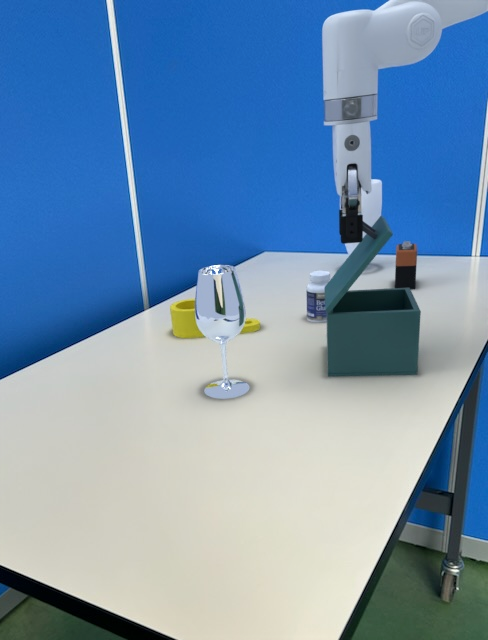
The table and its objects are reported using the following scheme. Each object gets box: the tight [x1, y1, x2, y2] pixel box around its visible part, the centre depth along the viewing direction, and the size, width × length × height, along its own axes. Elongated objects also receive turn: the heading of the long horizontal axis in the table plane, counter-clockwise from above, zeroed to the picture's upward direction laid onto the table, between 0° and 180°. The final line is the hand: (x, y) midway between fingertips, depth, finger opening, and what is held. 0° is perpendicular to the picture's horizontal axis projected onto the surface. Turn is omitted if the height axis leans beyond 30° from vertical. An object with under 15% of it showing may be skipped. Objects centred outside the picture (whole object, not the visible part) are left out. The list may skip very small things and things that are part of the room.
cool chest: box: [326, 287, 422, 378], centre depth 103 cm, size 14×13×11 cm
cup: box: [339, 178, 383, 257], centre depth 155 cm, size 10×10×22 cm
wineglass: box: [194, 264, 250, 400], centre depth 97 cm, size 8×8×20 cm
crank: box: [169, 298, 261, 339], centre depth 127 cm, size 18×8×6 cm, turn 81°
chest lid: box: [325, 215, 394, 313], centre depth 99 cm, size 15×13×5 cm
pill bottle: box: [305, 270, 331, 323], centre depth 126 cm, size 5×5×10 cm
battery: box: [394, 240, 418, 290], centre depth 140 cm, size 4×7×10 cm, turn 163°
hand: (350, 237), depth 97 cm, fingers closed on chest lid, 5 cm apart
